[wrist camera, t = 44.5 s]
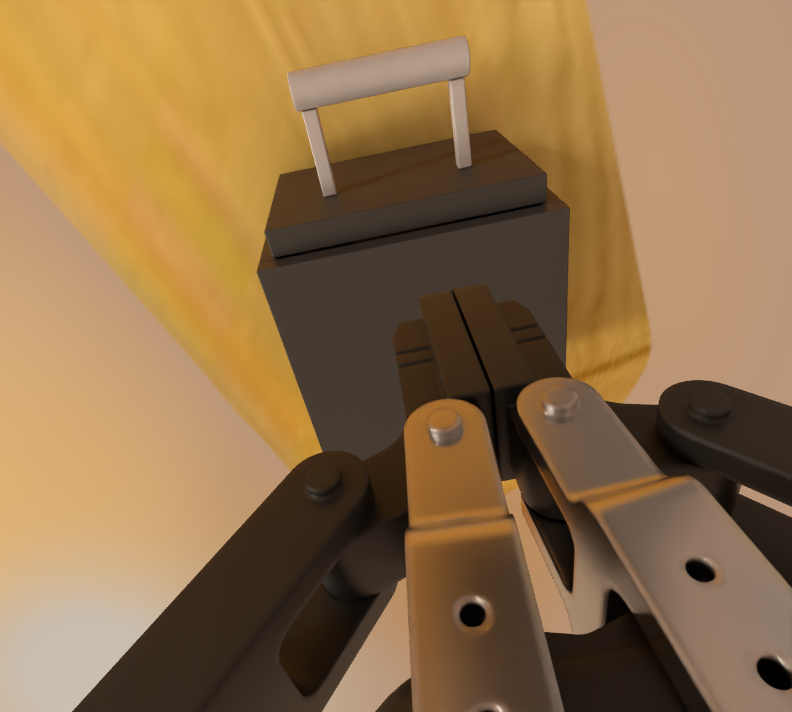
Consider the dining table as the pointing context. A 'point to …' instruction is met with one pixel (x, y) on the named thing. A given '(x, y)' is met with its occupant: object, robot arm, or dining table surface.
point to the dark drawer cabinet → (403, 309)
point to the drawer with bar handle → (395, 160)
